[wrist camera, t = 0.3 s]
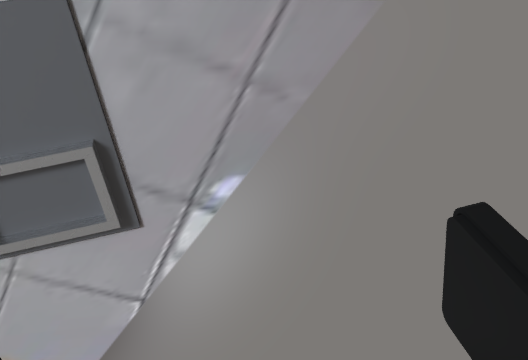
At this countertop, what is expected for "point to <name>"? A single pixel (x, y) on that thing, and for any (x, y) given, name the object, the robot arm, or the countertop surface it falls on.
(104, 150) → the rubber mat
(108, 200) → the metal frame
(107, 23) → the countertop surface
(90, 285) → the countertop surface
